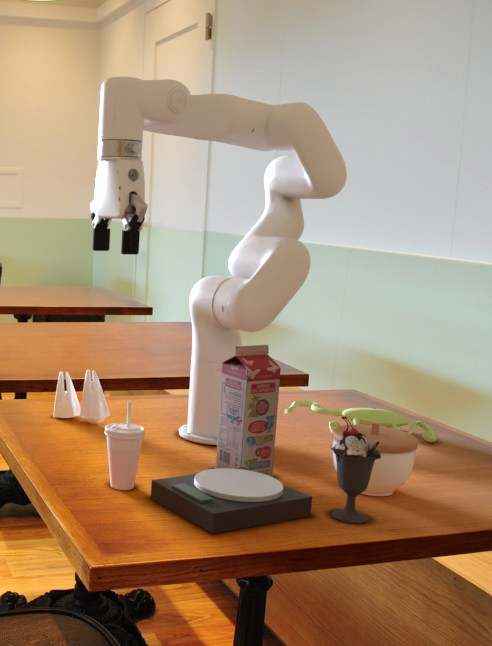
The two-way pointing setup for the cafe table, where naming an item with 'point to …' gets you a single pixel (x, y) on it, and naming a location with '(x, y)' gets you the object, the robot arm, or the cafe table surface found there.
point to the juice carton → (248, 410)
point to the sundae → (353, 470)
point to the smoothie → (123, 451)
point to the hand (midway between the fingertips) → (114, 252)
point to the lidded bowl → (385, 456)
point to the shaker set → (91, 403)
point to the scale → (230, 499)
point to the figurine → (367, 418)
